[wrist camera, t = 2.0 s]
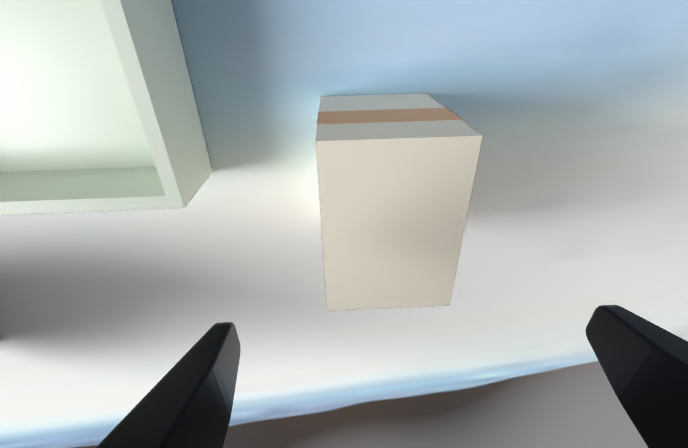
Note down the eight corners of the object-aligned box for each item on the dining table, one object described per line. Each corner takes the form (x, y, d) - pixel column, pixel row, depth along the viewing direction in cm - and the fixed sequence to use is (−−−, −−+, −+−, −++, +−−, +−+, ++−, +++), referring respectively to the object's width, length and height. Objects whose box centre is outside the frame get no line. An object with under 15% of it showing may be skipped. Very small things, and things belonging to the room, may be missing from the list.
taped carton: (413, 219, 20) (449, 305, 14) (327, 222, 19) (326, 311, 14) (425, 92, 16) (483, 134, 10) (320, 95, 16) (314, 140, 10)
